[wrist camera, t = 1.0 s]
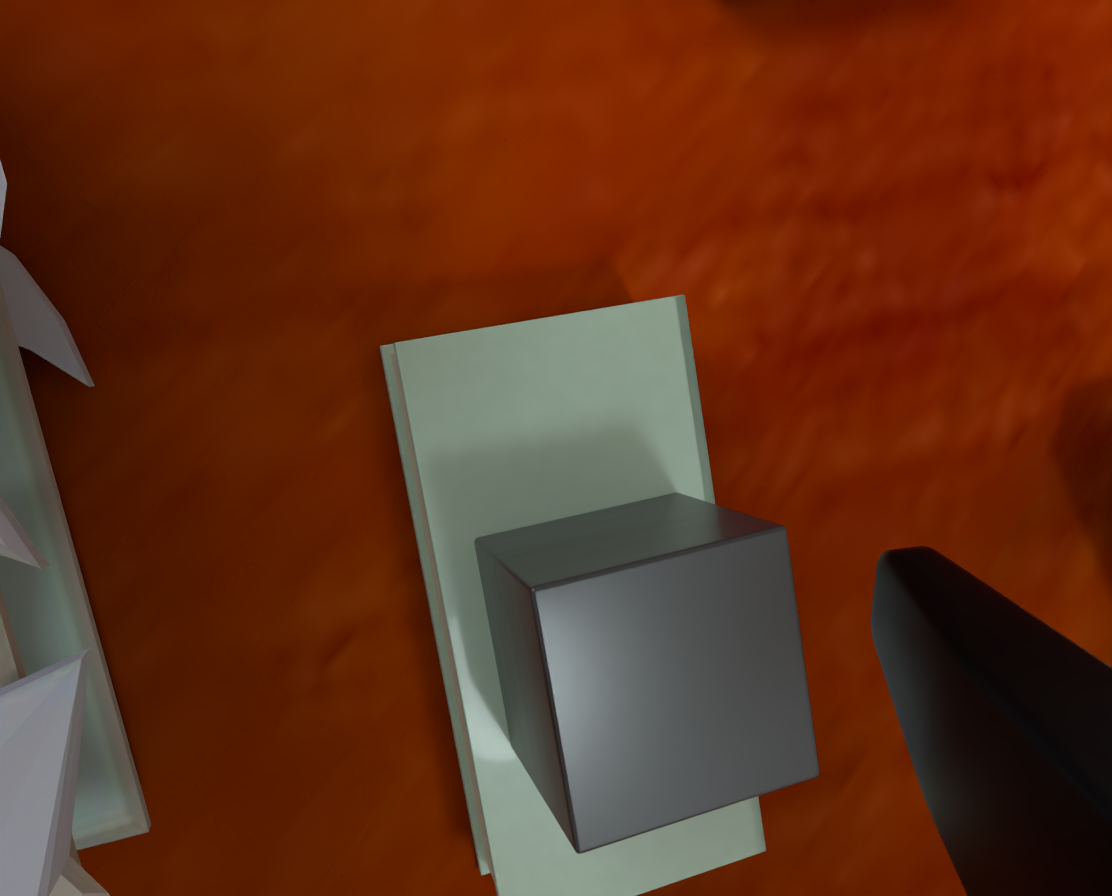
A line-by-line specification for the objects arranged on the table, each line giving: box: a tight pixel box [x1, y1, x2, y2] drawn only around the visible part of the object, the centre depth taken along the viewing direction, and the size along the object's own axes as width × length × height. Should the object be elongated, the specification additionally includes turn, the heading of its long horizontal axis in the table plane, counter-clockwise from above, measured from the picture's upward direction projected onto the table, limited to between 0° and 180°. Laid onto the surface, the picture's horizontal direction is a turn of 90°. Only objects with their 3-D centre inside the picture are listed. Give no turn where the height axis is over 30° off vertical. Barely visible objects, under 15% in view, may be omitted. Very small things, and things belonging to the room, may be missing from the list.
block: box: [474, 492, 820, 854], centre depth 19 cm, size 5×5×5 cm
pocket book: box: [380, 295, 766, 896], centre depth 23 cm, size 14×7×3 cm, turn 10°
